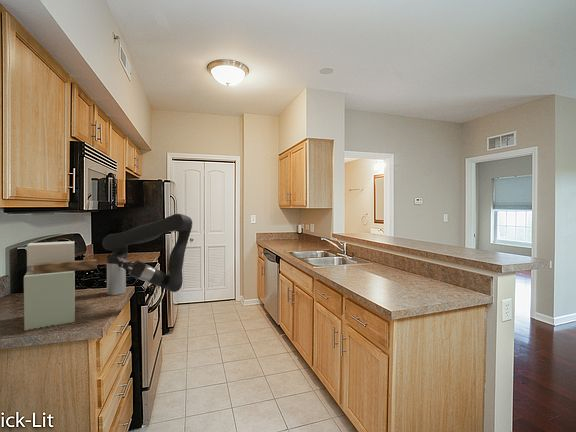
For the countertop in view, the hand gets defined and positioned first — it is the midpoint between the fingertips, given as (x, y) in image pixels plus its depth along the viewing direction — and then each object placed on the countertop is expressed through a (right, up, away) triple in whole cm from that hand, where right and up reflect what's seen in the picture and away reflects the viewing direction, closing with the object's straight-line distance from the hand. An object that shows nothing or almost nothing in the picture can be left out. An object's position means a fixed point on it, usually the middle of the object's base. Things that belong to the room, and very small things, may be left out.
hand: (108, 257), depth 137 cm
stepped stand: (-20, -25, -7) cm, 33 cm away
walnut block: (-13, -5, -9) cm, 17 cm away
